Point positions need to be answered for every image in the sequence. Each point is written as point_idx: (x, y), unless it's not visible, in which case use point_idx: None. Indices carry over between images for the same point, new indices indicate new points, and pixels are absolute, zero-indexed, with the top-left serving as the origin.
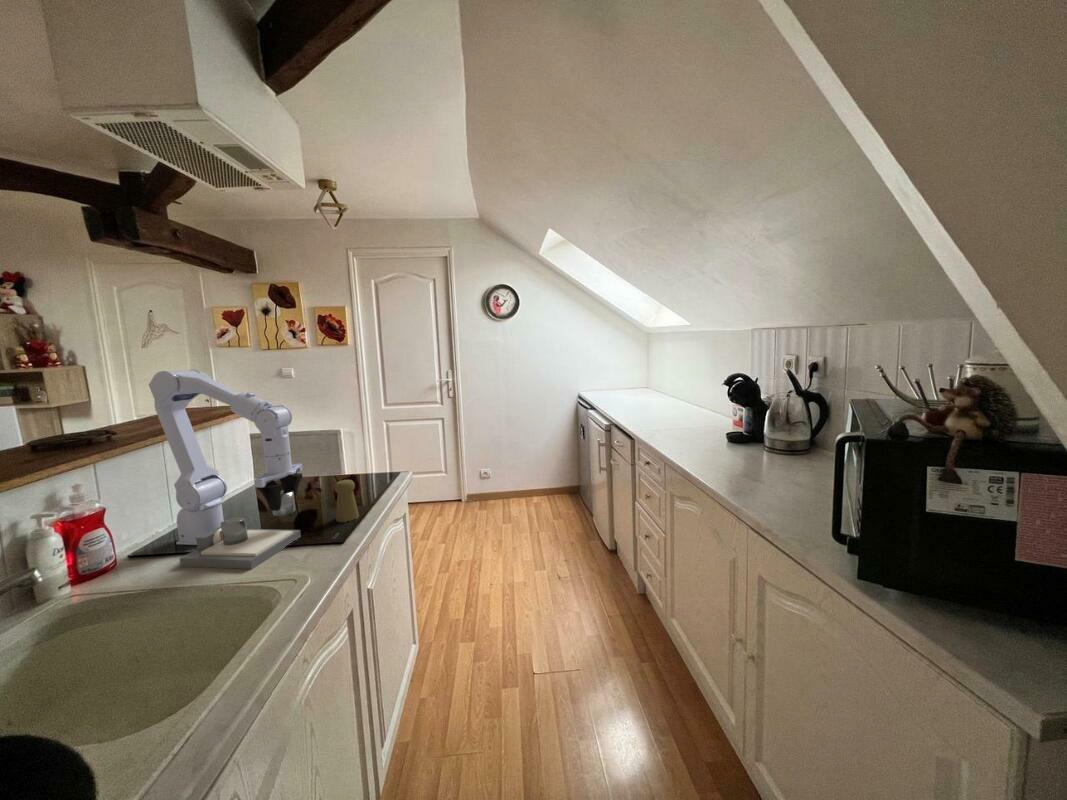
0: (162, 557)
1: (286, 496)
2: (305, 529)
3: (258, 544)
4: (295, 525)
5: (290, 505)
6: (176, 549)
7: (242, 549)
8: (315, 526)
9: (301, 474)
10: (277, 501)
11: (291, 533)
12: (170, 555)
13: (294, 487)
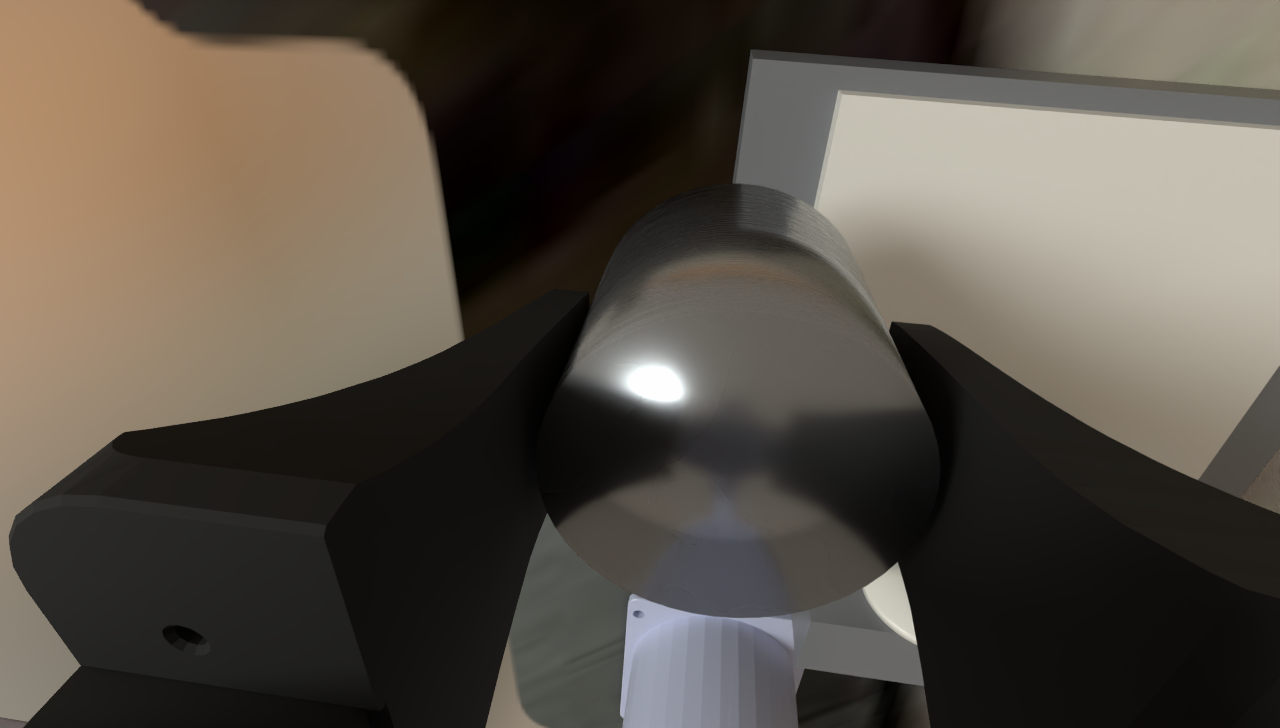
0: (924, 714)
1: (873, 336)
2: (558, 129)
3: (1141, 259)
4: (486, 278)
5: (791, 229)
6: (833, 708)
7: (1222, 338)
8: (483, 64)
9: (84, 494)
10: (1031, 391)
11: (863, 93)
12: (907, 698)
13: (503, 397)
